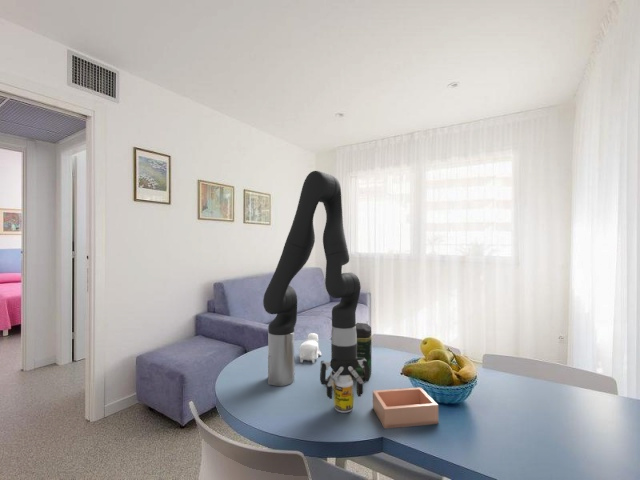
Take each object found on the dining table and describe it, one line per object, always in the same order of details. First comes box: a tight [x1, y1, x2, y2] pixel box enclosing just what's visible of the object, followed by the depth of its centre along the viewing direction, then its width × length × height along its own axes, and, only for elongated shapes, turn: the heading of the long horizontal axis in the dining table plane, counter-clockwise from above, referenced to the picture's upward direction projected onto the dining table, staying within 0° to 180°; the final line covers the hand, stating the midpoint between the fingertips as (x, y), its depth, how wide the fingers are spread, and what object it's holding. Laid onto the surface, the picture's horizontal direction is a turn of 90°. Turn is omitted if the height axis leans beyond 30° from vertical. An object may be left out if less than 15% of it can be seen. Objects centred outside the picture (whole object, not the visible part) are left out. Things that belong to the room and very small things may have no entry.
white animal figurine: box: [298, 332, 323, 364], centre depth 129 cm, size 9×8×15 cm
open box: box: [372, 387, 439, 429], centre depth 84 cm, size 15×10×5 cm, turn 98°
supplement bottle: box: [333, 375, 354, 414], centre depth 88 cm, size 6×6×10 cm
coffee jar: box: [351, 322, 373, 380], centre depth 111 cm, size 10×8×19 cm
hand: (344, 396), depth 88 cm, fingers open, 8 cm apart
